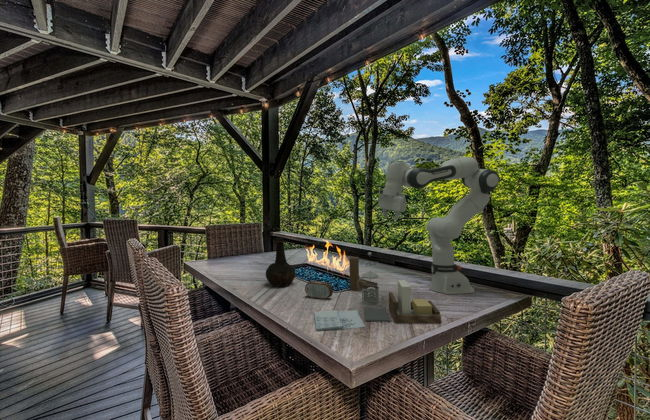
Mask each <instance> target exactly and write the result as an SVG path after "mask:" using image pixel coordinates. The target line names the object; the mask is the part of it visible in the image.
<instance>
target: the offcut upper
mask: <svg viewBox="0 0 650 420" xmlns="http://www.w3.org/2000/svg"><path fill="white" fill-rule="evenodd" d="M428 301H429V300H427V299H426V298H419V299H417V298H414V299H413V298H411V302H412V306H413V308H414V309H415V311H416V312H417V313H432V306H431V304H430V303H429V302H428Z"/></svg>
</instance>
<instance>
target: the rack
mask: <svg viewBox="0 0 650 420" xmlns="http://www.w3.org/2000/svg"><path fill="white" fill-rule="evenodd" d="M427 301H428V302H429V303H430V304H431V306H432V314H414V313H413V314H412V313H411V314H399V313H398V300H397V299H396V297H395V295H394V293H393V291H391V292H390V291H388V311H389V313H390V315H391V318H392V320H393V323H394V324H442V315H441V312H440V309H438V308H437V307H436V305H435V304H434V303H433V302H432V300H427ZM411 311H413V306H412V301H411Z"/></svg>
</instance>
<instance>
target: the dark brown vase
mask: <svg viewBox="0 0 650 420" xmlns="http://www.w3.org/2000/svg"><path fill="white" fill-rule="evenodd" d="M274 242H275V243H276V244H275V245H276V247H275V248H276V249H275V250H276V251H275V260H274V261H275V262H272V263H271V264H270V265H269V266H268V267H267V268H266V270H265V278H266V280H267V282H268V283H270V284H271V285H272V286H275V287H284V286H288V285H290V284H291V283H292V282H293V281H294V280H295V277H296V270H295V268H294V266H293V265H292V264H290V263H288V262H287V258H286V253H285V243H286V241H285V240H284V237H276V238H275V241H274Z"/></svg>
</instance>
